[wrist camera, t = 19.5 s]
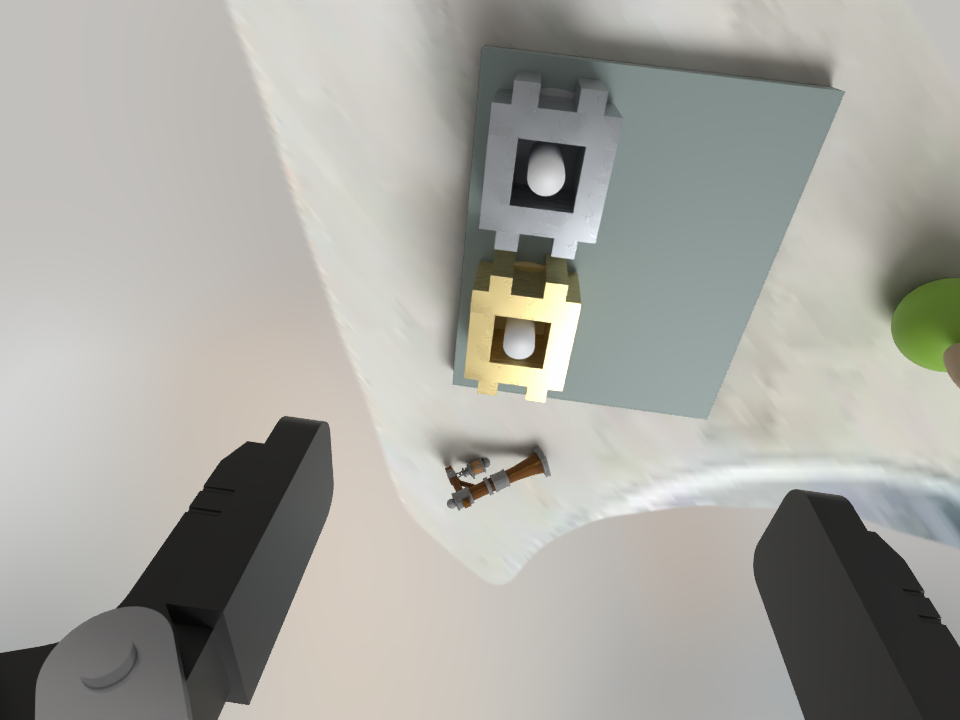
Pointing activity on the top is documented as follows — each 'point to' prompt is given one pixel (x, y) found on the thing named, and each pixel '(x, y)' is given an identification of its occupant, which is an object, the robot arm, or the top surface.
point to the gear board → (656, 223)
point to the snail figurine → (931, 326)
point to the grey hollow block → (554, 122)
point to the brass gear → (527, 298)
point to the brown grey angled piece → (492, 478)
